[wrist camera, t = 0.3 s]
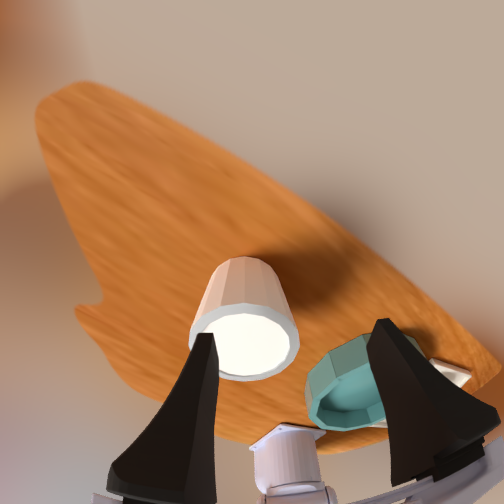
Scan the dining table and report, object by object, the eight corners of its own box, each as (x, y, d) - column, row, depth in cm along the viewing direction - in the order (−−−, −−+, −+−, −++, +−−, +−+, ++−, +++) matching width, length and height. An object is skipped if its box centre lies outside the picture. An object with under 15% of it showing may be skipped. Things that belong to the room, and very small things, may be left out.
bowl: (364, 413, 33) (370, 433, 30) (282, 398, 30) (284, 422, 26) (436, 347, 27) (448, 367, 24) (360, 315, 24) (373, 340, 21)
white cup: (223, 328, 25) (217, 390, 18) (187, 266, 22) (167, 323, 16) (297, 306, 24) (311, 367, 17) (270, 236, 21) (280, 287, 15)
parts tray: (410, 423, 36) (412, 428, 35) (362, 419, 33) (363, 426, 32) (469, 370, 31) (472, 375, 30) (431, 357, 28) (435, 364, 27)
